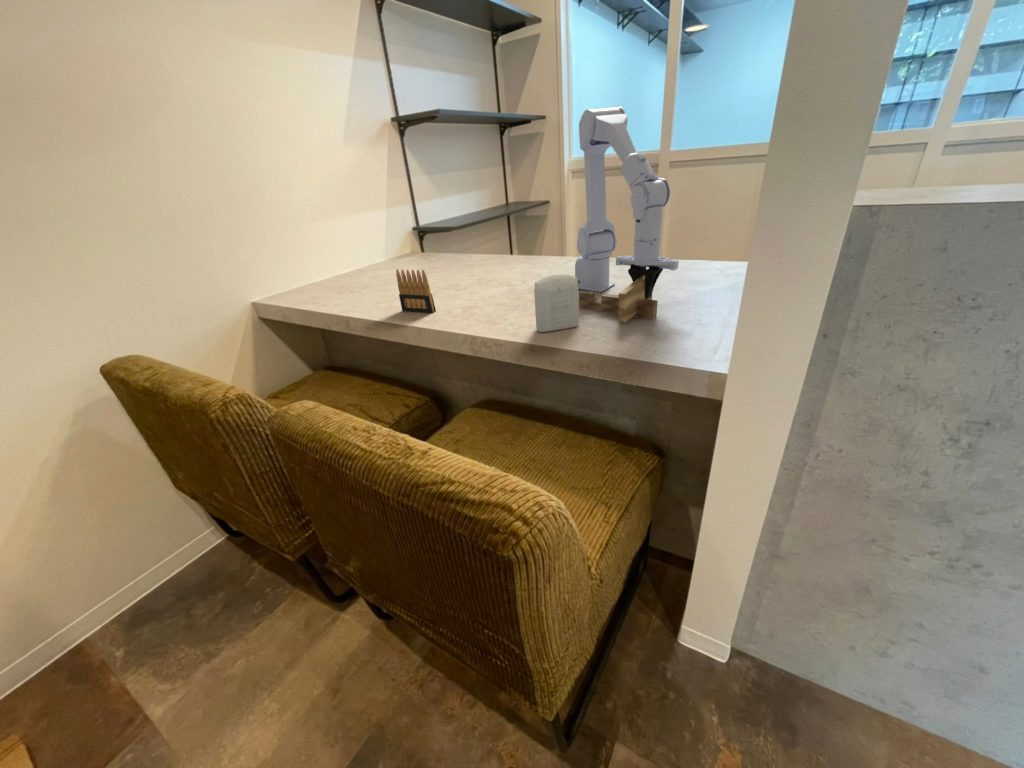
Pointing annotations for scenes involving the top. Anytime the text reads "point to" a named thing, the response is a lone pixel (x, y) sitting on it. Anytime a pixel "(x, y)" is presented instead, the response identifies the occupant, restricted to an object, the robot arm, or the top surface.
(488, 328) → the top surface
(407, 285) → the ammunition clip
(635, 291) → the crossbar
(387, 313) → the top surface
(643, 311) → the slotted beam
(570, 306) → the miniature gravestone
